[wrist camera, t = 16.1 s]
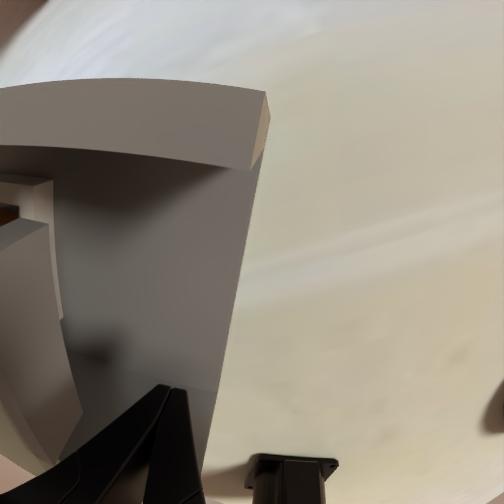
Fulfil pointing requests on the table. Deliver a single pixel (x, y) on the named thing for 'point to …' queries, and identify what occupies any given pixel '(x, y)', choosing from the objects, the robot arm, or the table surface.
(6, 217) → the orange rounded cylinder
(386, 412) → the table surface
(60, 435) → the lid
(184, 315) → the housing
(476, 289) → the table surface
